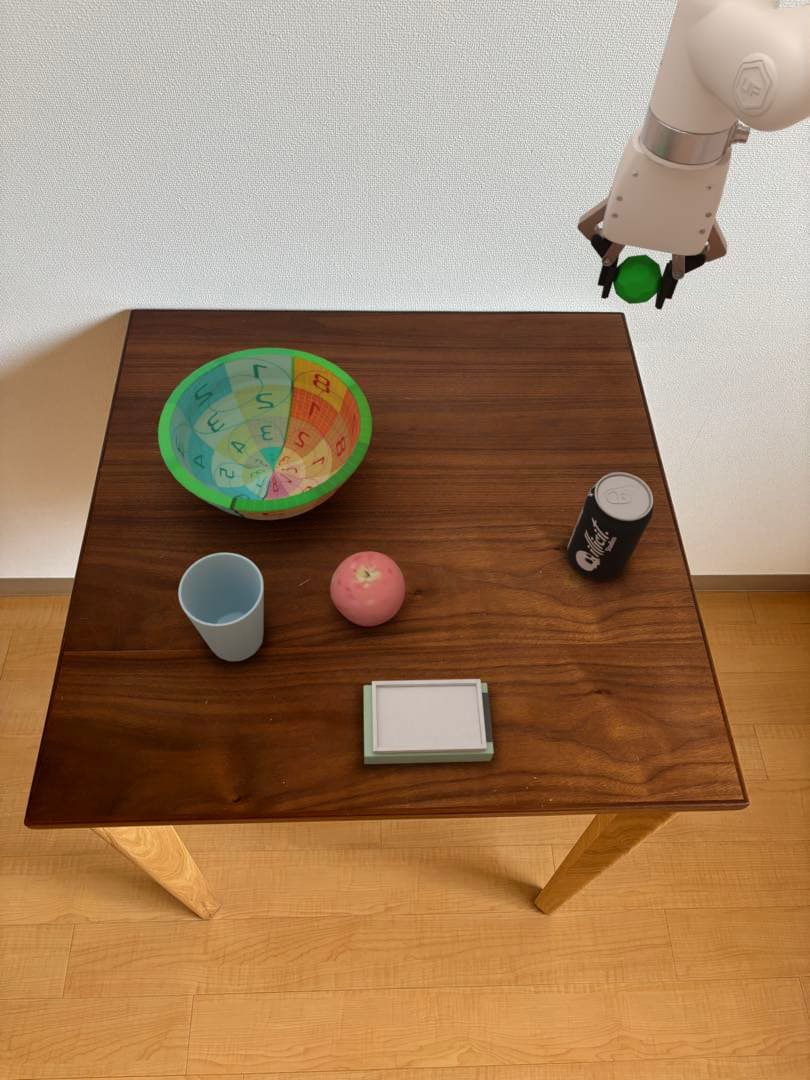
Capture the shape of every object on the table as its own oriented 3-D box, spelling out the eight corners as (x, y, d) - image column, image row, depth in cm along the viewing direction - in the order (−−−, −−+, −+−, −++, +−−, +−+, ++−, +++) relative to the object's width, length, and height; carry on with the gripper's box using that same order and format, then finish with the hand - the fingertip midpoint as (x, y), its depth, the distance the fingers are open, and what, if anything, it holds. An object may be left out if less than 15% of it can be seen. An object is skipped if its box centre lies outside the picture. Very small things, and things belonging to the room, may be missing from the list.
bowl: (233, 384, 102) (221, 323, 93) (400, 439, 98) (403, 381, 89) (138, 521, 90) (115, 466, 82) (323, 590, 87) (318, 540, 78)
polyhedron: (657, 314, 86) (670, 277, 82) (610, 312, 86) (621, 274, 82) (652, 283, 89) (664, 246, 85) (606, 280, 89) (617, 243, 85)
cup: (182, 632, 83) (161, 582, 74) (245, 590, 86) (232, 537, 77) (225, 686, 80) (208, 641, 72) (288, 641, 83) (279, 592, 74)
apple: (368, 653, 83) (369, 617, 76) (318, 608, 85) (314, 569, 79) (417, 606, 86) (422, 568, 79) (367, 564, 88) (368, 524, 82)
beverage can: (628, 585, 88) (662, 524, 78) (568, 583, 88) (594, 522, 78) (620, 534, 92) (652, 469, 82) (562, 532, 92) (587, 467, 82)
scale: (484, 691, 81) (488, 677, 78) (490, 761, 77) (495, 749, 74) (363, 694, 81) (363, 680, 77) (364, 764, 77) (364, 752, 74)
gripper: (785, 124, 73) (714, 288, 88) (595, 93, 75) (558, 258, 90) (784, 172, 69) (710, 335, 84) (584, 137, 71) (547, 303, 86)
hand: (632, 294), depth 87 cm, fingers closed on polyhedron, 5 cm apart
